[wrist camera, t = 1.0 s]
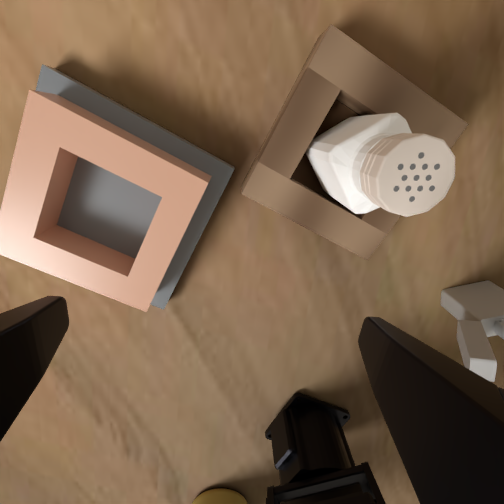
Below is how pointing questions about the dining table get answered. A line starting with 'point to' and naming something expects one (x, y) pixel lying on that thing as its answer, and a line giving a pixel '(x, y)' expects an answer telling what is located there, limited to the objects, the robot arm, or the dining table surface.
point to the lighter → (477, 323)
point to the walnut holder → (309, 120)
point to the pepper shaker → (382, 165)
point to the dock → (105, 194)
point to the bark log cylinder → (220, 497)
